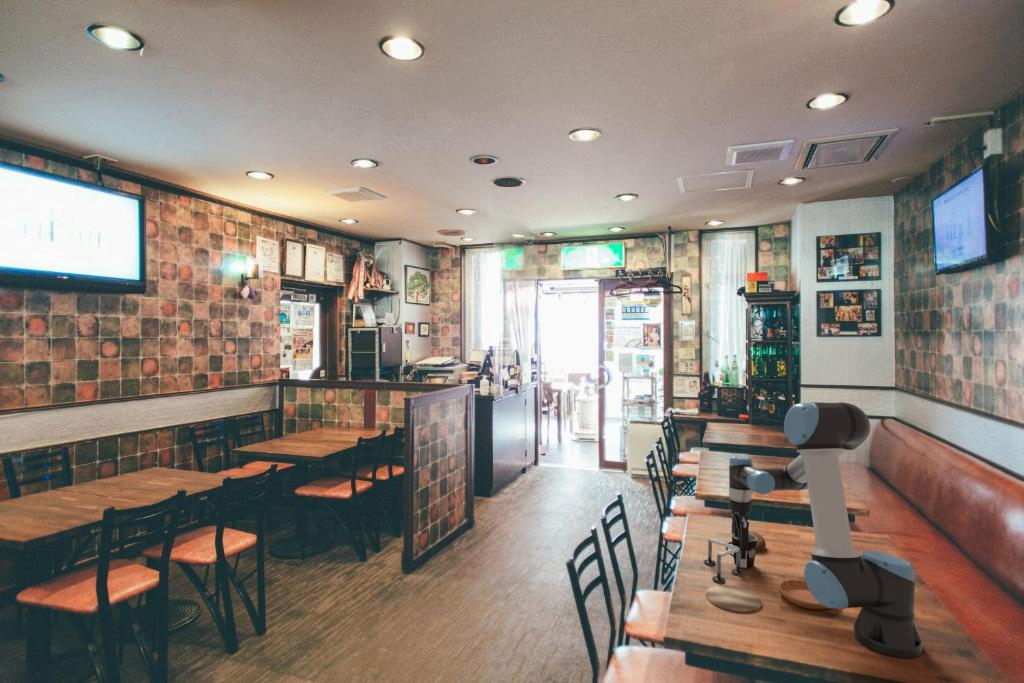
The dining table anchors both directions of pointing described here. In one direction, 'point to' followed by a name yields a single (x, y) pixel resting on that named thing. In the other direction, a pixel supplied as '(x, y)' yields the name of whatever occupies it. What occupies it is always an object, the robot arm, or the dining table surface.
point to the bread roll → (759, 541)
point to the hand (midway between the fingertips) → (739, 562)
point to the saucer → (799, 594)
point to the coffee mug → (750, 552)
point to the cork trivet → (733, 598)
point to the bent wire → (711, 562)
